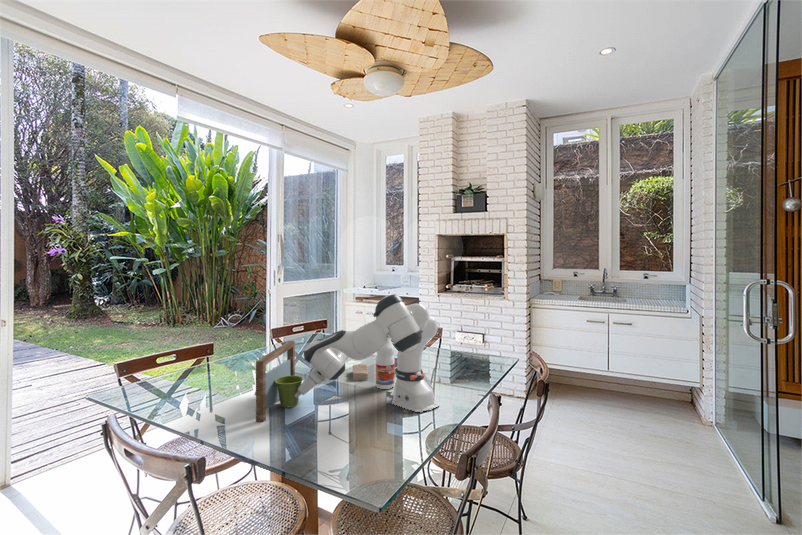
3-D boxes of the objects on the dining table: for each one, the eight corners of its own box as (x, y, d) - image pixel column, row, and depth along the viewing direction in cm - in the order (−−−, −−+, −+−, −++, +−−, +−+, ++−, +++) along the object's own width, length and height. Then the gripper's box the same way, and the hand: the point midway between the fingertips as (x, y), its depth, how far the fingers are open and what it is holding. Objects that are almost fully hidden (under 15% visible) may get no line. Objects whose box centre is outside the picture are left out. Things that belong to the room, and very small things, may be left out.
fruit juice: (391, 383, 199) (391, 329, 198) (396, 389, 190) (397, 332, 189) (373, 384, 196) (374, 330, 195) (378, 391, 187) (378, 333, 186)
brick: (368, 381, 203) (368, 372, 203) (352, 381, 202) (352, 372, 202) (367, 372, 219) (367, 363, 219) (352, 372, 218) (352, 364, 218)
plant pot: (295, 411, 161) (295, 384, 161) (270, 409, 164) (269, 382, 163) (308, 400, 173) (307, 376, 172) (284, 399, 175) (283, 374, 175)
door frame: (294, 390, 187) (294, 341, 186) (263, 422, 150) (263, 361, 150) (288, 390, 187) (288, 341, 186) (255, 422, 150) (255, 361, 150)
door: (290, 390, 184) (291, 359, 184) (258, 416, 154) (258, 378, 153) (285, 389, 184) (285, 358, 184) (251, 415, 154) (251, 378, 154)
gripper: (322, 359, 180) (301, 380, 181) (309, 372, 160) (286, 395, 161) (331, 369, 180) (311, 389, 181) (320, 383, 160) (297, 406, 160)
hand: (299, 392), depth 171 cm, fingers open, 8 cm apart
